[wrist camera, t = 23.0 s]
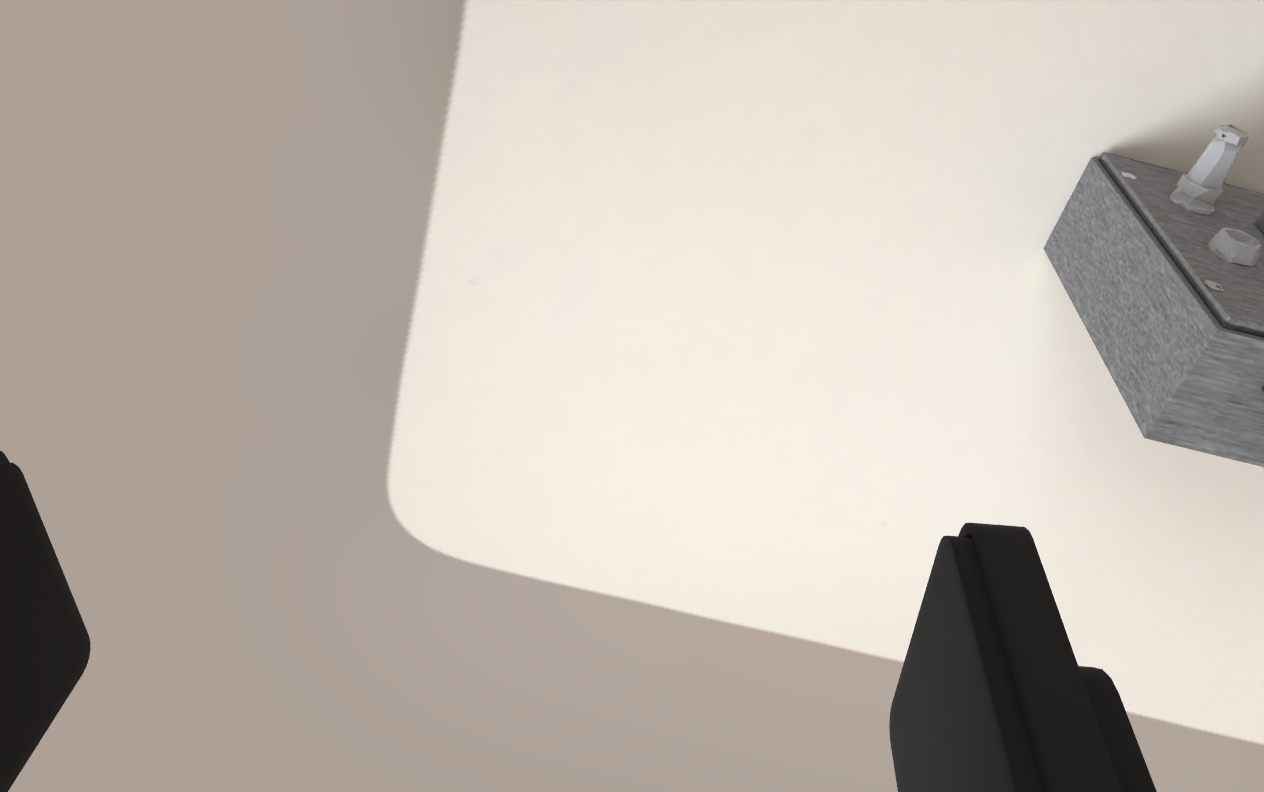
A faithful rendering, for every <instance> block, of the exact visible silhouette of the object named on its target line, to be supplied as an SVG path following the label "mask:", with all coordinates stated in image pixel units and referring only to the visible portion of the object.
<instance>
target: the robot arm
mask: <svg viewBox="0 0 1264 792" xmlns="http://www.w3.org/2000/svg"><path fill="white" fill-rule="evenodd" d="M89 654H90V639H89V635H88V633H87V630H86V628H85V625H84V623H83V621H82V618H81V615H80V613H79V610H78V608H77V605H76V603H75V601H74V598H73V596H72V593H71V591H70V588H69V586H68V583H67V581H66V579H65V576H64V574H63V571H62V569H61V566H60V564H59V561H58V559H57V556H56V554H55V551H54V549H53V547H52V544H51V542H50V539H49V537H48V534H47V532H46V529H45V527H44V525H43V522H42V520H41V517H40V515H39V512H38V510H37V507H36V505H35V503H34V500H33V497H32V495H31V493H30V490H29V488H28V485H27V483H26V480H25V478H24V475H23V473H22V472H21V470H20V468H19V467H18V466H16V465H15V464H14V463H10V462H9V461H8V459H7V457H6V456H5V454H4V453H3V452H1V451H0V792H8V790H9V789H10V787H11V786H12V784H13V783H14V781H15V779H16V778H17V776H18V775H19V773H20V771H21V770H22V768H23V767H24V765H25V764H26V762H27V760H28V759H29V757H30V756H31V754H32V753H33V751H34V750H35V748H36V746H37V745H38V743H39V742H40V740H41V739H42V737H43V735H44V734H45V732H46V731H47V729H48V727H49V726H50V724H51V723H52V721H53V720H54V718H55V716H56V715H57V713H58V712H59V710H60V709H61V707H62V705H63V704H64V702H65V701H66V699H67V698H68V696H69V694H70V693H71V691H72V690H73V688H74V687H75V685H76V683H77V682H78V680H79V679H80V677H81V676H82V674H83V672H84V670H85V668H86V666H87V663H88V660H89ZM890 742H891V749H892V755H893V761H894V768H895V775H896V781H897V787H898V792H1156V789H1155V787H1154V784H1153V781H1152V779H1151V776H1150V774H1149V771H1148V768H1147V766H1146V763H1145V760H1144V758H1143V755H1142V753H1141V750H1140V747H1139V745H1138V742H1137V740H1136V737H1135V734H1134V732H1133V729H1132V727H1131V724H1130V721H1129V719H1128V717H1127V714H1126V711H1125V708H1124V706H1123V703H1122V701H1121V698H1120V695H1119V693H1118V691H1117V689H1116V687H1115V685H1114V683H1113V681H1112V679H1111V678H1110V677H1109V676H1108V675H1107V674H1106V673H1105V672H1104V671H1103V670H1102V669H1098V668H1094V667H1082V666H1078V664H1077V662H1076V659H1075V656H1074V653H1073V650H1072V647H1071V645H1070V642H1069V639H1068V636H1067V633H1066V631H1065V628H1064V625H1063V622H1062V619H1061V616H1060V614H1059V611H1058V608H1057V605H1056V602H1055V600H1054V597H1053V594H1052V591H1051V588H1050V585H1049V583H1048V580H1047V577H1046V574H1045V571H1044V569H1043V566H1042V563H1041V560H1040V557H1039V554H1038V552H1037V549H1036V546H1035V543H1034V540H1033V538H1032V536H1031V534H1030V532H1029V530H1027V529H1026V528H1025V527H1017V526H1004V525H991V524H978V523H965V525H964V526H963V527H962V528H961V531H960V533H959V536H958V537H956V536H944V537H943V538H942V539H941V541H940V544H939V547H938V550H937V554H936V557H935V560H934V564H933V567H932V570H931V574H930V577H929V581H928V584H927V587H926V591H925V594H924V597H923V601H922V604H921V608H920V611H919V614H918V618H917V621H916V624H915V628H914V631H913V634H912V638H911V641H910V645H909V648H908V651H907V655H906V658H905V661H904V665H903V668H902V672H901V675H900V678H899V682H898V685H897V689H896V692H895V695H894V699H893V702H892V706H891V712H890Z"/></svg>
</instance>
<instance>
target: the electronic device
mask: <svg viewBox="0 0 1264 792" xmlns="http://www.w3.org/2000/svg"><path fill="white" fill-rule="evenodd" d="M1215 133H1216V135H1215V137H1214V138H1213V139H1212V141H1211V142H1210V143H1209V145H1208V146H1207V148H1206V149H1205V151H1204V152H1203V154H1202V155H1201V156H1200V158H1199V159H1198V160H1197V162H1196V163H1195V165H1194V166H1193V167H1192V169H1191V170H1190V171H1189V173H1187V174H1186V173H1182V172H1178V171H1174V170H1171V169H1167V168H1163V167H1159V166H1155V165H1151V164H1148V163H1144V162H1140V161H1136V160H1132V159H1128V158H1125V157H1121V156H1117V155H1113V154H1109V153H1105V152H1103V153H1102V156H1101V157H1100V159H1095V158H1091V159H1090V161H1089V163H1088V165H1087V167H1086V169H1085V171H1084V173H1083V175H1082V177H1081V178H1080V180H1079V182H1078V184H1077V186H1076V188H1075V190H1074V192H1073V194H1072V196H1071V197H1070V199H1069V201H1068V203H1067V205H1066V207H1065V209H1064V211H1063V213H1062V215H1061V216H1060V218H1059V220H1058V222H1057V224H1056V226H1055V228H1054V230H1053V232H1052V234H1051V235H1050V237H1049V239H1048V241H1047V243H1046V245H1045V247H1044V250H1045V252H1046V254H1047V256H1048V258H1049V259H1050V261H1051V263H1052V265H1053V267H1054V269H1055V271H1056V273H1057V274H1058V276H1059V278H1060V280H1061V282H1062V284H1063V286H1064V288H1065V290H1066V291H1067V293H1068V295H1069V297H1070V299H1071V301H1072V303H1073V305H1074V306H1075V308H1076V310H1077V312H1078V314H1079V316H1080V318H1081V320H1082V321H1083V323H1084V325H1085V327H1086V329H1087V331H1088V333H1089V335H1090V336H1091V338H1092V340H1093V342H1094V344H1095V346H1096V348H1097V350H1098V351H1099V353H1100V355H1101V357H1102V359H1103V361H1104V363H1105V365H1106V367H1107V368H1108V370H1109V372H1110V374H1111V376H1112V378H1113V380H1114V382H1115V383H1116V385H1117V387H1118V389H1119V391H1120V393H1121V395H1122V397H1123V398H1124V400H1125V402H1126V404H1127V406H1128V408H1129V410H1130V412H1131V413H1132V415H1133V417H1134V419H1135V421H1136V423H1137V425H1138V427H1139V429H1140V430H1141V432H1142V434H1143V436H1144V438H1147V439H1151V440H1155V441H1159V442H1163V443H1167V444H1171V445H1175V446H1180V447H1184V448H1188V449H1192V450H1196V451H1200V452H1204V453H1208V454H1213V455H1217V456H1221V457H1225V458H1229V459H1233V460H1237V461H1241V462H1245V463H1250V464H1254V465H1258V466H1262V467H1264V194H1263V193H1259V192H1255V191H1251V190H1247V189H1243V188H1240V187H1236V186H1232V185H1228V184H1224V183H1223V182H1224V180H1225V178H1226V176H1227V174H1228V171H1229V169H1230V167H1231V165H1232V163H1233V161H1234V159H1235V157H1236V155H1237V153H1238V152H1239V150H1240V149H1241V148H1242V147H1243V146H1244V144H1245V142H1246V140H1247V138H1248V135H1247V133H1246V132H1244V131H1242V130H1240V129H1239V128H1237V127H1235V126H1233V125H1225V126H1220V127H1219V128H1217V129H1216V130H1215Z"/></svg>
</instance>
